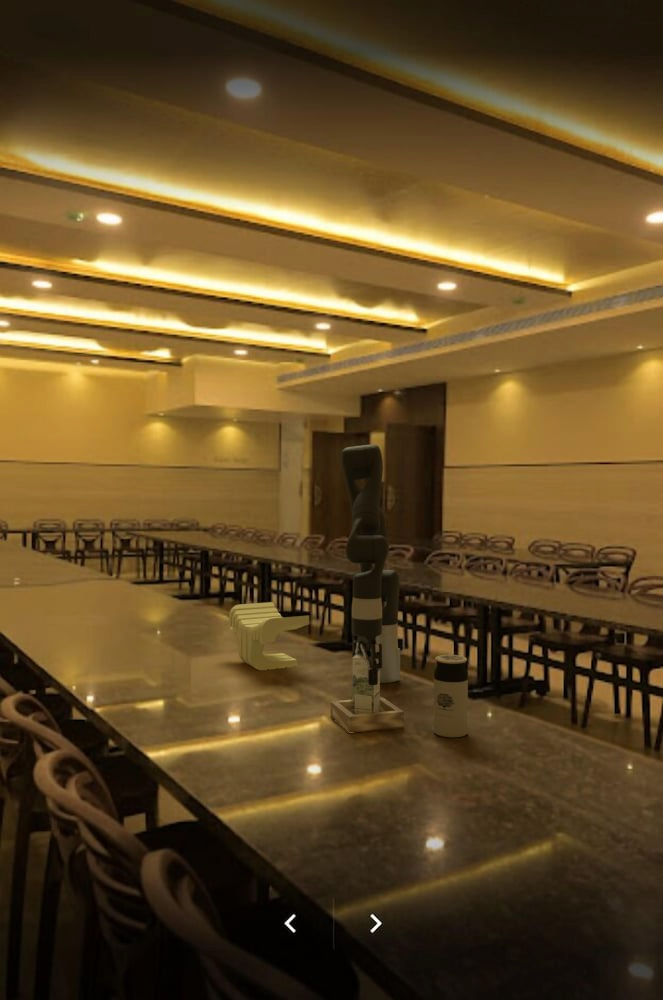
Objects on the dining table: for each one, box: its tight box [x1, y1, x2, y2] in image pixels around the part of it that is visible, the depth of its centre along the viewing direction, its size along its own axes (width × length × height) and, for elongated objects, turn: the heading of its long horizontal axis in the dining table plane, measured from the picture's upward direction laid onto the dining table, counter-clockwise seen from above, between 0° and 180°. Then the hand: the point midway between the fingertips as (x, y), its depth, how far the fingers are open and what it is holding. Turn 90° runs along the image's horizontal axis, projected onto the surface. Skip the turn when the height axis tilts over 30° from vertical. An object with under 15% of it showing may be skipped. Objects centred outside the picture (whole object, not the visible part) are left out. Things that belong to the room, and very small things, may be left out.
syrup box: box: [352, 653, 381, 715], centre depth 197 cm, size 6×6×14 cm
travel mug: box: [433, 654, 469, 739], centre depth 189 cm, size 8×8×18 cm
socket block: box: [330, 696, 405, 733], centre depth 198 cm, size 14×14×4 cm
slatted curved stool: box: [228, 601, 310, 671], centre depth 259 cm, size 30×16×18 cm, turn 27°
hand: (366, 680), depth 197 cm, fingers closed on syrup box, 8 cm apart
